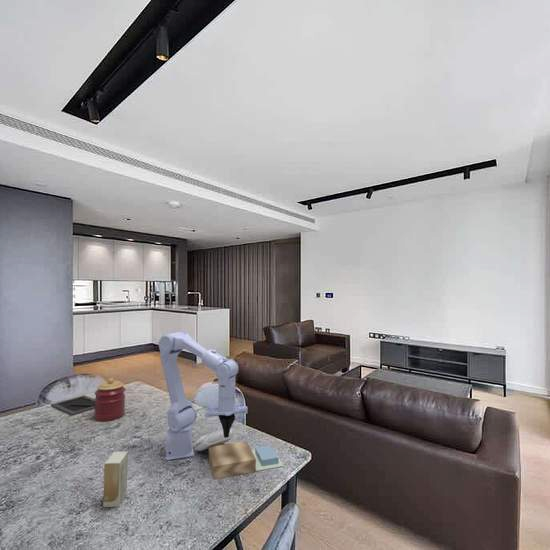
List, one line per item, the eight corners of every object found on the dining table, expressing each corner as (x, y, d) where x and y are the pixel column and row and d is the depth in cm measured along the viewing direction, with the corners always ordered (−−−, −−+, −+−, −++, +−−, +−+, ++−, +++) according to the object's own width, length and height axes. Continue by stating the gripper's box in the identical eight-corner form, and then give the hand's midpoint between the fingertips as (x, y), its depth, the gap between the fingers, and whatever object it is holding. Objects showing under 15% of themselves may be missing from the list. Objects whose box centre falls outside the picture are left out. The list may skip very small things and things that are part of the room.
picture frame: (105, 406, 160) (84, 398, 171) (105, 402, 160) (84, 394, 171) (71, 417, 147) (50, 407, 158) (72, 412, 147) (51, 403, 158)
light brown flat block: (213, 479, 100) (213, 466, 100) (208, 458, 112) (208, 446, 112) (255, 471, 104) (255, 459, 104) (246, 452, 117) (246, 441, 117)
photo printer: (231, 425, 119) (200, 434, 111) (234, 437, 117) (203, 447, 109) (220, 432, 125) (191, 442, 118) (223, 444, 123) (193, 454, 116)
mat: (255, 471, 104) (255, 470, 104) (246, 452, 117) (246, 451, 117) (283, 466, 107) (283, 465, 108) (272, 447, 120) (272, 447, 120)
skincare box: (112, 493, 92) (113, 451, 93) (127, 492, 93) (128, 450, 93) (102, 508, 86) (103, 463, 87) (118, 507, 86) (119, 462, 87)
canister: (130, 414, 149) (131, 377, 150) (103, 424, 138) (104, 384, 139) (115, 408, 156) (116, 372, 157) (88, 417, 145) (89, 379, 146)
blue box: (278, 457, 109) (278, 463, 109) (270, 445, 117) (270, 450, 117) (261, 460, 107) (261, 466, 107) (255, 447, 116) (255, 452, 115)
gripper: (206, 402, 102) (205, 444, 102) (249, 398, 107) (249, 438, 106) (204, 395, 109) (203, 435, 109) (245, 391, 114) (244, 429, 113)
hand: (226, 436), depth 108 cm, fingers closed
